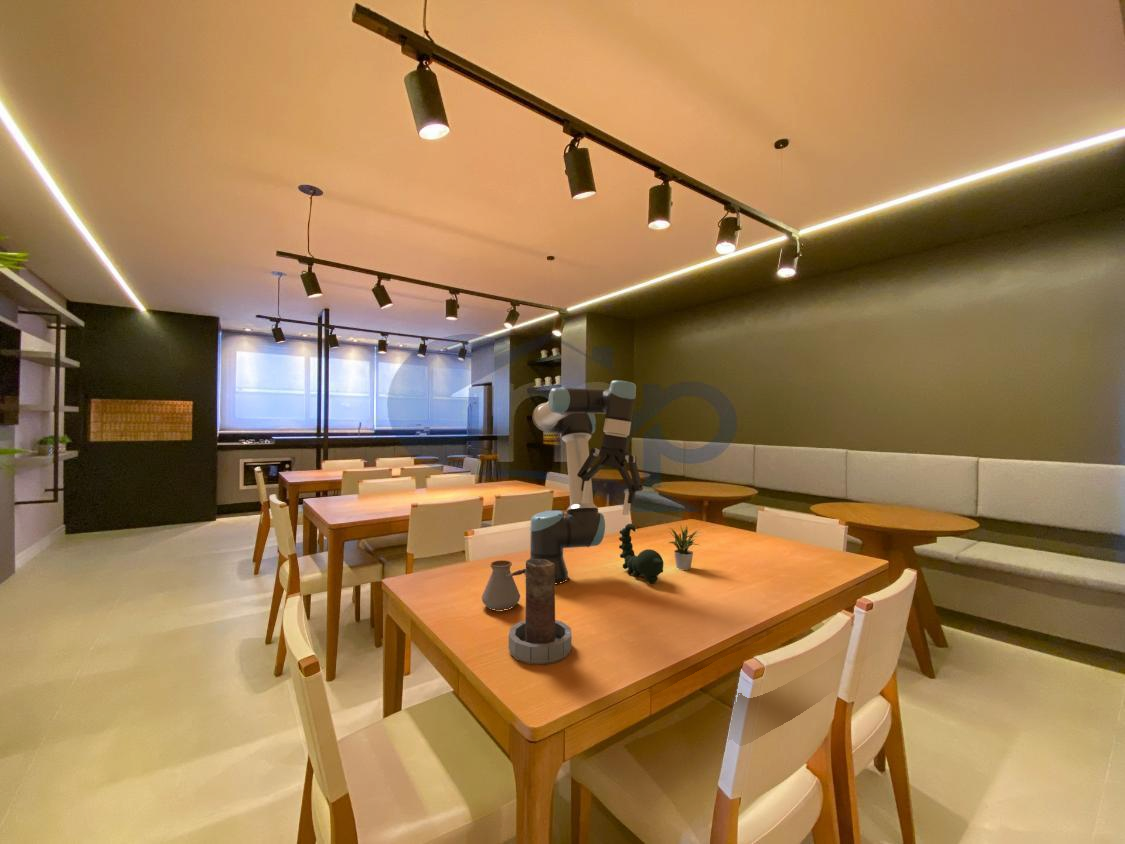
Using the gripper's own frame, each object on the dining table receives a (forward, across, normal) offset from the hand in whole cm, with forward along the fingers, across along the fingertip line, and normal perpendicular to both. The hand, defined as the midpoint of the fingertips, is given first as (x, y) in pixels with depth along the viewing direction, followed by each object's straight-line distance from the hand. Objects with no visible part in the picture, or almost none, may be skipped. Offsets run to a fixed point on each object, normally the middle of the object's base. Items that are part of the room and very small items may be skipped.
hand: (604, 508), depth 127 cm
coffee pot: (+34, +20, +11) cm, 41 cm away
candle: (+32, 0, +23) cm, 39 cm away
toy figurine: (+29, +2, -39) cm, 49 cm away
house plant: (+26, -7, -57) cm, 63 cm away
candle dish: (+32, -1, +23) cm, 40 cm away
